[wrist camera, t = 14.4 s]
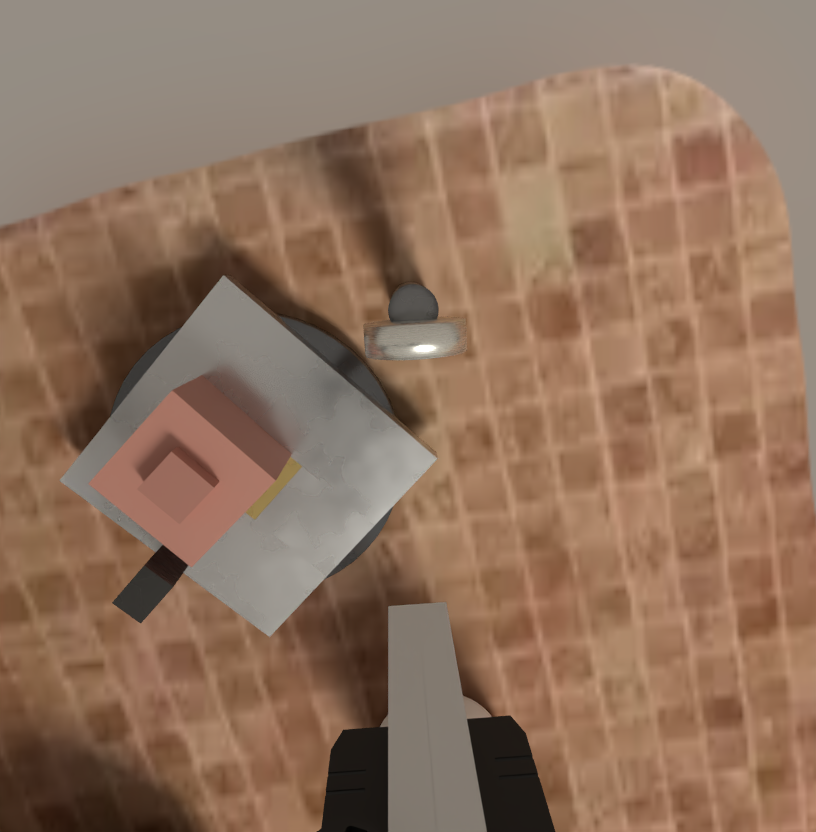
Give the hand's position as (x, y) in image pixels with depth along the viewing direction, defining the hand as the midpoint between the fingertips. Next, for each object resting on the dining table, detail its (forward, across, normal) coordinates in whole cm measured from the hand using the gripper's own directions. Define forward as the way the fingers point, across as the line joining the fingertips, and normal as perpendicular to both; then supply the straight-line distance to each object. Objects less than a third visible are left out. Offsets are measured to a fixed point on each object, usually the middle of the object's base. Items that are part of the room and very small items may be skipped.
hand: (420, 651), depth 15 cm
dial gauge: (+18, +1, +8) cm, 20 cm away
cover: (+16, -10, +1) cm, 19 cm away
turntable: (+17, -8, 0) cm, 19 cm away
